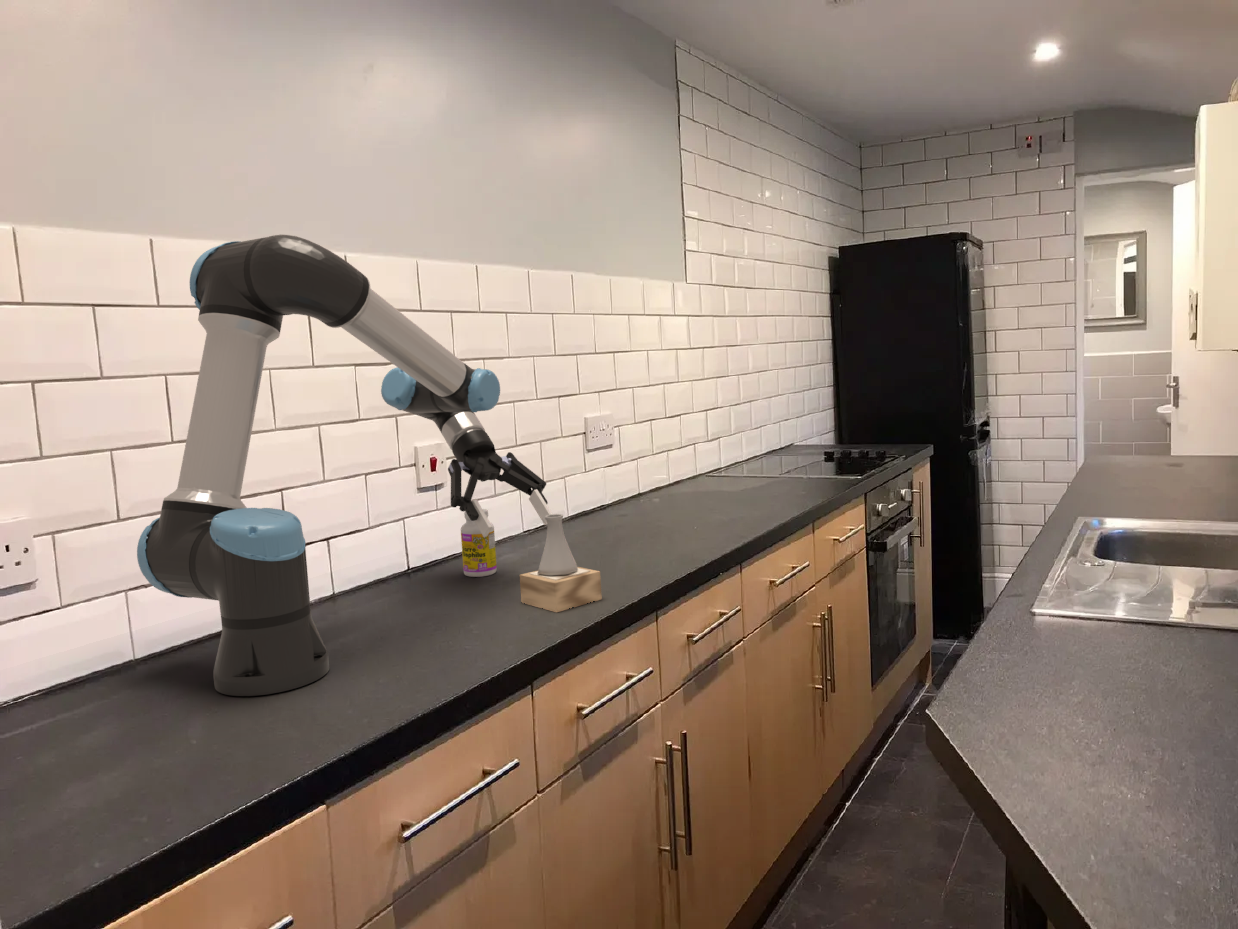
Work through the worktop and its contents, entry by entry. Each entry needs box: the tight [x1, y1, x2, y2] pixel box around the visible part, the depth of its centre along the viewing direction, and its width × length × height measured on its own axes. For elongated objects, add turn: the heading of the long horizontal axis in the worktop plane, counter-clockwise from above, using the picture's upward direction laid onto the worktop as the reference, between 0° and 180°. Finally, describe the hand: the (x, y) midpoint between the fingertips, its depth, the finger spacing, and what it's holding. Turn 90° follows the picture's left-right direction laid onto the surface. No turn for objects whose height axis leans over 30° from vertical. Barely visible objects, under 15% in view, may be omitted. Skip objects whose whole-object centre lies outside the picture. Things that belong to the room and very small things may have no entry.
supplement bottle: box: [460, 508, 498, 578], centre depth 183 cm, size 7×7×13 cm
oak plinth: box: [519, 566, 603, 613], centre depth 159 cm, size 10×10×5 cm
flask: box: [537, 513, 579, 575], centre depth 158 cm, size 7×7×10 cm
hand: (519, 526), depth 166 cm, fingers open, 13 cm apart
